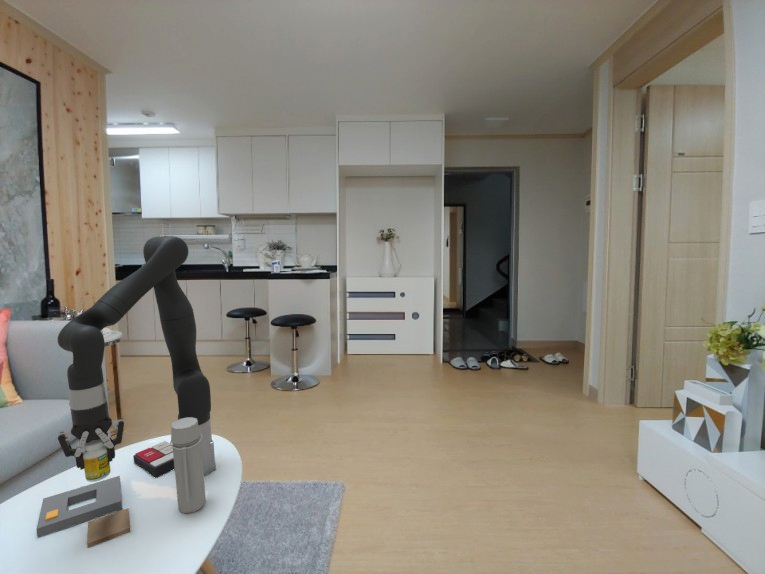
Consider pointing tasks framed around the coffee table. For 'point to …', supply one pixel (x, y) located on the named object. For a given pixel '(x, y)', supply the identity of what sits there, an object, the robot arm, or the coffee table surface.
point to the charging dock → (60, 517)
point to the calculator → (156, 459)
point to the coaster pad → (108, 527)
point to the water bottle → (188, 464)
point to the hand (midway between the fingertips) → (96, 463)
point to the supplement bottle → (96, 461)
